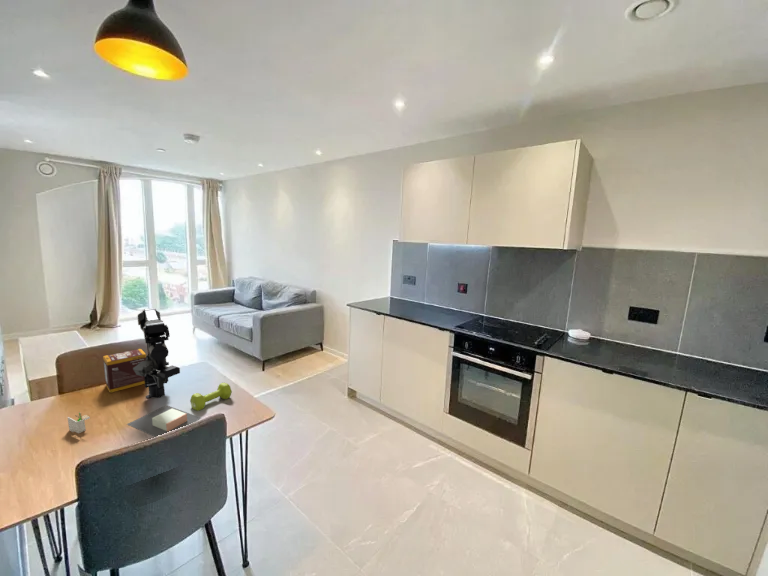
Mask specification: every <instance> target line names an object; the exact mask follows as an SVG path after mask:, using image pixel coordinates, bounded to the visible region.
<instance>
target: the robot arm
mask: <svg viewBox="0 0 768 576" xmlns="http://www.w3.org/2000/svg"><path fill="white" fill-rule="evenodd" d="M137 325H138V326H139V327H140V330H141V331H142V332H143V337H144V342H145V344H146V353H147V354H146V360H145V361H142V362H139V363H138V365H137V366H135V367H134V368H133V370H134V371H135V373H136V375H139V376H142V377H143V376H144V384H143V385H144V388H145V389H147V388H148V395H146V396H145V398H147V399H149V400H150V399H153V398H161V397H164V396H165V395H166V392H165V384H168V382H169V378H170V377H174V376H176V375H178V374H180V373H181V368H180V367H178V366H176V365H170V363H169V361H167V357H168V356H169V349H168V347H167V345H166V342H165V341H169V337H170V335H171V334H170V331H169V330H170V329H169V326H168V325H167V324H166V323H165V322H164V320H162V319H161V312H159V311H158V310H157V308H154V307H153V308H144V309H142V311H141V312H140V313H137ZM169 365H170V366H169Z"/></svg>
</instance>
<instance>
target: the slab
mask: <svg viewBox="0 0 768 576" xmlns="http://www.w3.org/2000/svg"><path fill="white" fill-rule="evenodd" d="M173 408H174V407H173ZM173 408H172V409H170V410H168V411H165V412H163V413H161V414H159V415H157V416H155V417H153V418H152V423H153V426H155V427H158V428H160V429H163V430H165V431H170V430H172V429H173V428H175V427H177V426H179V425H181V424H182V423H184V422H186V421H187V414H186V413H184V412H185V411H184V412H181V411H182V410H181V411H178V410H175V409H173Z"/></svg>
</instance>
